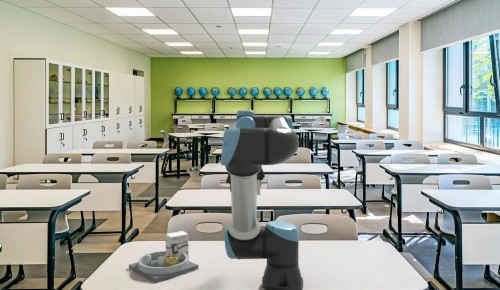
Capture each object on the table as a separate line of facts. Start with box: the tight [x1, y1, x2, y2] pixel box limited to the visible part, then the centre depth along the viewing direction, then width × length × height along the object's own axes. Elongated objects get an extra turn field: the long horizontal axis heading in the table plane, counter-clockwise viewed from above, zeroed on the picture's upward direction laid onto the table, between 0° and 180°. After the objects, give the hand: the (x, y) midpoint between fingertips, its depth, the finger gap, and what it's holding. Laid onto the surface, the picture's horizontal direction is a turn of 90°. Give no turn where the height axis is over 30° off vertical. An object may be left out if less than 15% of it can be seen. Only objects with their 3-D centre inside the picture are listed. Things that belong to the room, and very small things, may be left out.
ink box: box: [165, 230, 190, 261], centre depth 195 cm, size 8×5×12 cm, turn 123°
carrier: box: [128, 250, 199, 284], centre depth 187 cm, size 20×20×6 cm
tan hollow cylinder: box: [164, 254, 178, 267], centre depth 183 cm, size 5×5×5 cm
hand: (246, 197), depth 196 cm, fingers open, 13 cm apart
